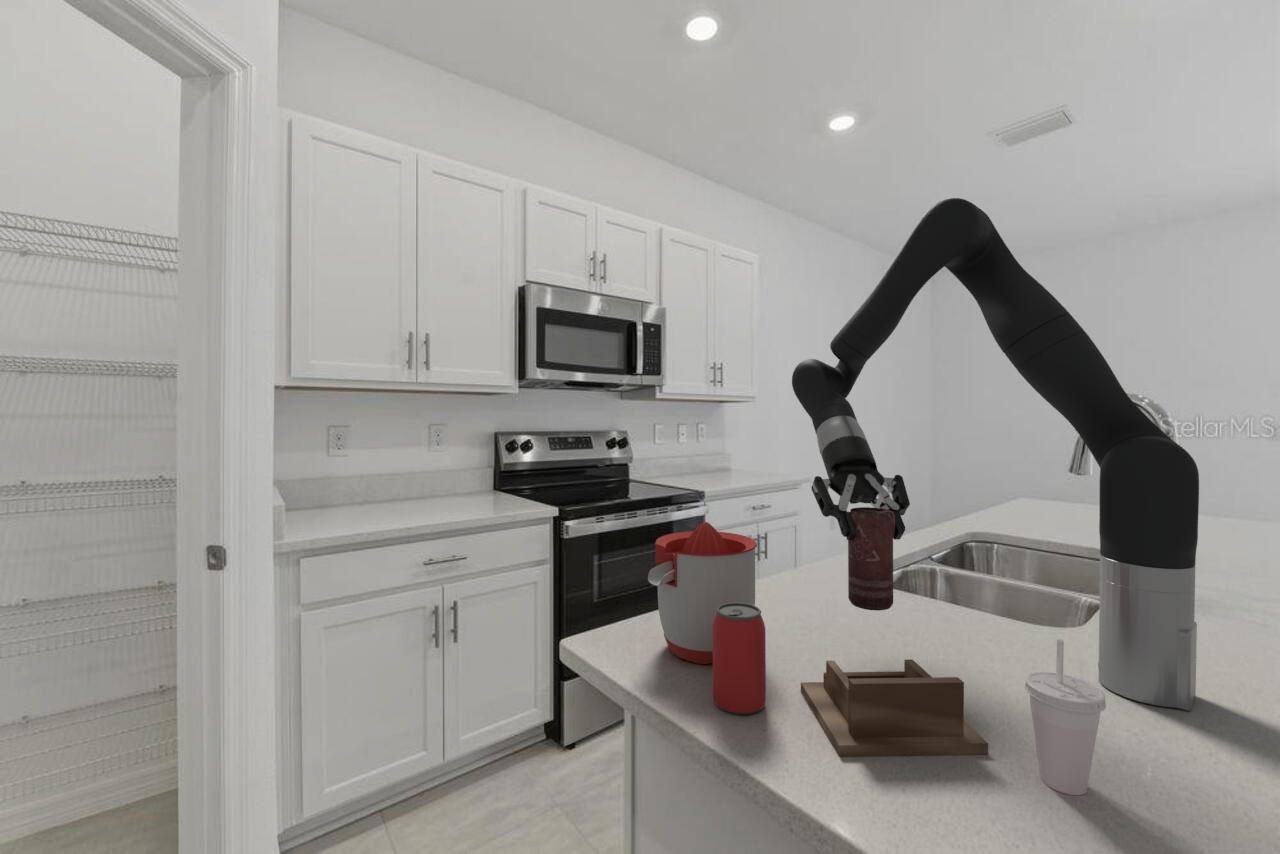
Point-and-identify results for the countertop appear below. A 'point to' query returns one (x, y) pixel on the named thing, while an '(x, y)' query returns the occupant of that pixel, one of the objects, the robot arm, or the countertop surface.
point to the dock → (892, 713)
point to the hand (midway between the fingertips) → (875, 536)
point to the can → (871, 559)
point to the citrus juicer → (700, 585)
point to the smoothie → (1064, 726)
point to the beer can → (739, 658)
